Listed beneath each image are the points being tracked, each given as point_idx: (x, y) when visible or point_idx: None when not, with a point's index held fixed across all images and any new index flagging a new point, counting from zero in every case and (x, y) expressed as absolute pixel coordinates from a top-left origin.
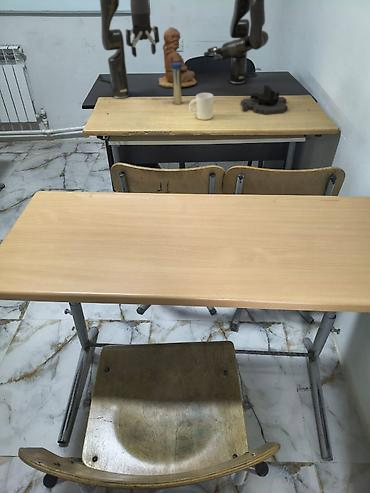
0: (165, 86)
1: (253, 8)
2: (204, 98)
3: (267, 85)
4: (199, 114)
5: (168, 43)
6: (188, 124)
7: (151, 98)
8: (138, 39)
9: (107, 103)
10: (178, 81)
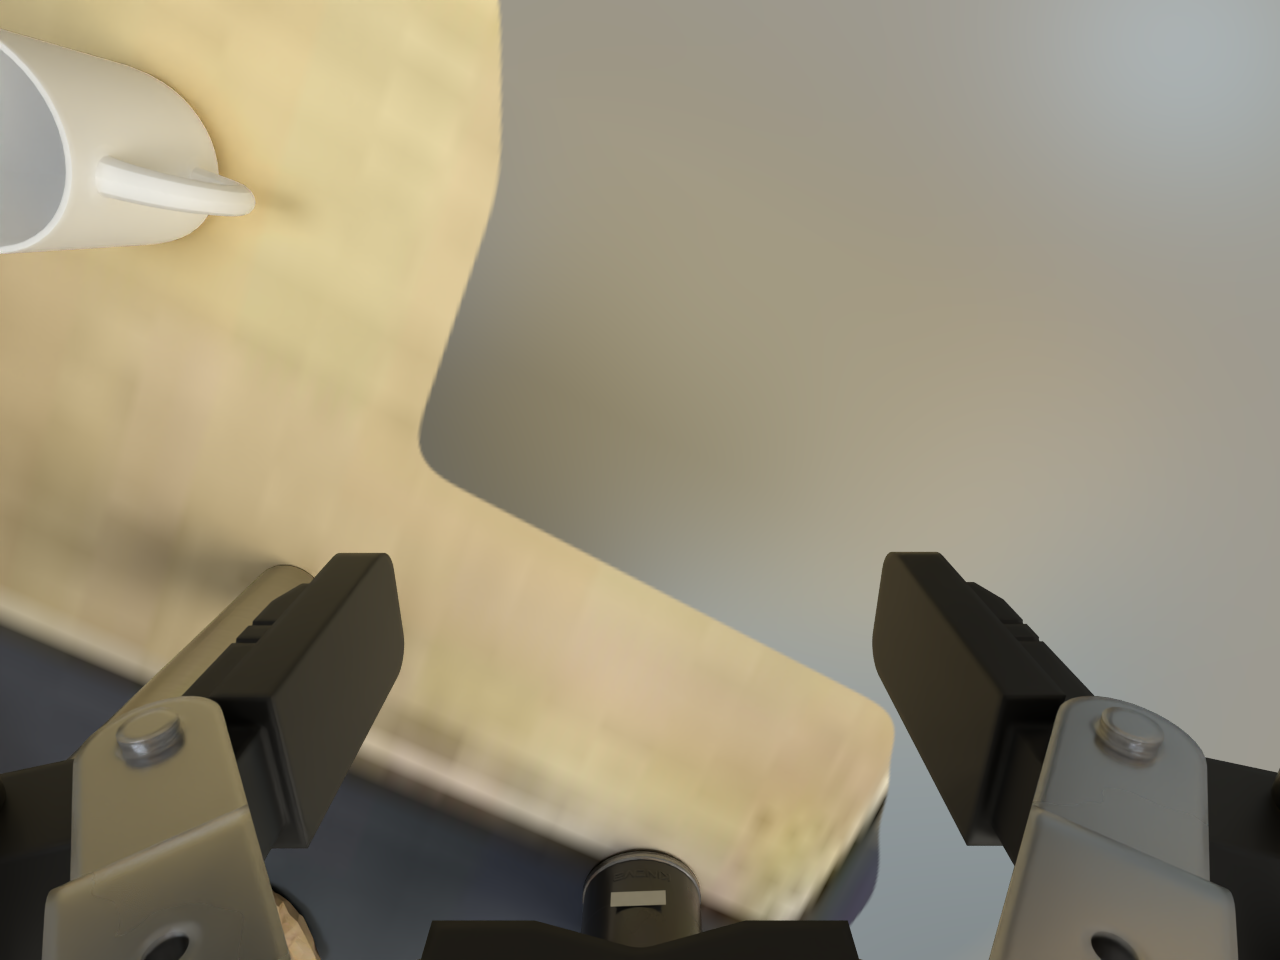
0: (288, 907)
1: None
2: None
3: None
4: (178, 114)
5: None
6: (345, 65)
7: (457, 767)
8: (1038, 922)
9: (782, 815)
10: (169, 679)
